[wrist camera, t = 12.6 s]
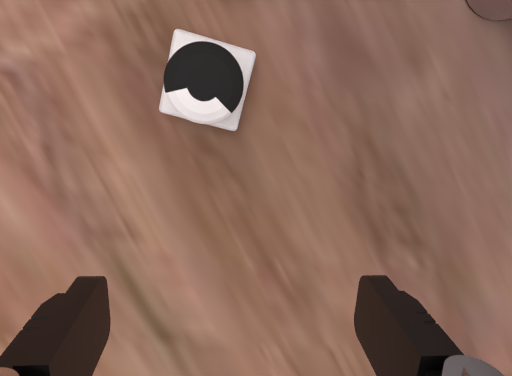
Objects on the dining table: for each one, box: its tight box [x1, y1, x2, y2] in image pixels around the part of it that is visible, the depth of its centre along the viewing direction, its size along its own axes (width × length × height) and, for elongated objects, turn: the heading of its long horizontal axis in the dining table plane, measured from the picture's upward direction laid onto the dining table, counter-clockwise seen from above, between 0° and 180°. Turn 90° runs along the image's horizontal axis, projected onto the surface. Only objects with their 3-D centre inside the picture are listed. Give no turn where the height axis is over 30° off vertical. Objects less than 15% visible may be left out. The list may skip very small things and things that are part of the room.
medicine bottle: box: [159, 29, 256, 131], centre depth 32 cm, size 7×7×12 cm
